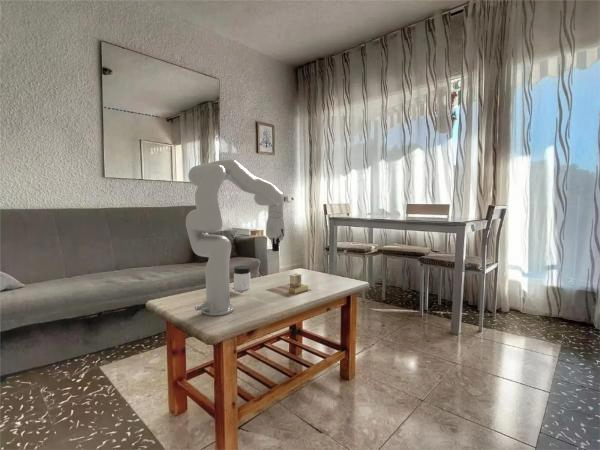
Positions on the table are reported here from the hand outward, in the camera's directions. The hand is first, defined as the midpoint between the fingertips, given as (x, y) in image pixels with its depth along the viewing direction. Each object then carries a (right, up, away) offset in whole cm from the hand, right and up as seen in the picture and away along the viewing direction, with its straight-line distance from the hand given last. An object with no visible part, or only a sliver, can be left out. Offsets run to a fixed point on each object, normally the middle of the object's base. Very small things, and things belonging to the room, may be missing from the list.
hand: (275, 250), depth 160 cm
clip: (+11, -19, -8) cm, 24 cm away
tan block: (+11, -19, -7) cm, 23 cm away
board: (+7, -20, -5) cm, 22 cm away
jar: (-17, -20, -2) cm, 26 cm away
